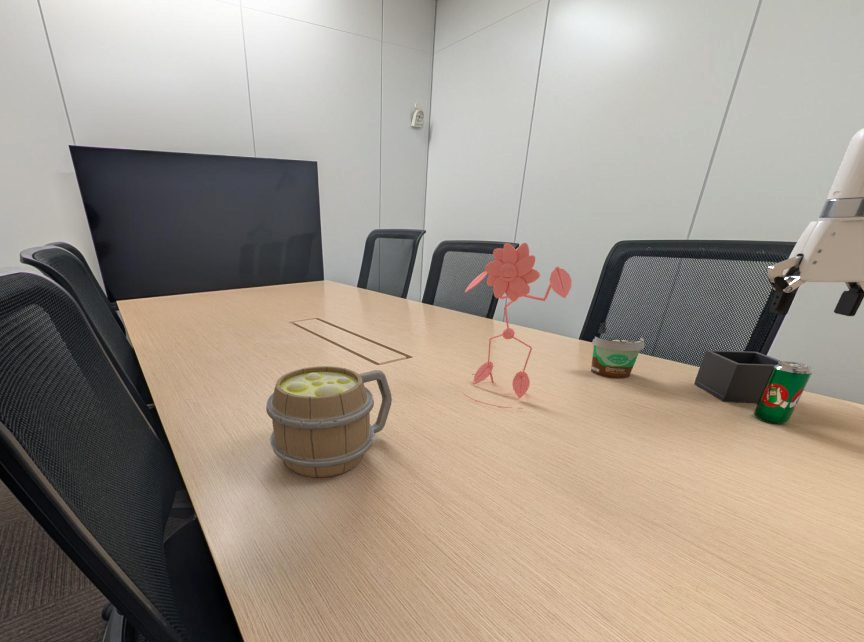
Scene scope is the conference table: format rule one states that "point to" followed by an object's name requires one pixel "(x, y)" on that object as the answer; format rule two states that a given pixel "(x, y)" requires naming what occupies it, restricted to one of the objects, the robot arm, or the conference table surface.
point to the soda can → (782, 392)
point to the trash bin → (735, 375)
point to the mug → (325, 418)
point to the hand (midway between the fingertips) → (809, 314)
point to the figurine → (515, 297)
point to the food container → (615, 357)
